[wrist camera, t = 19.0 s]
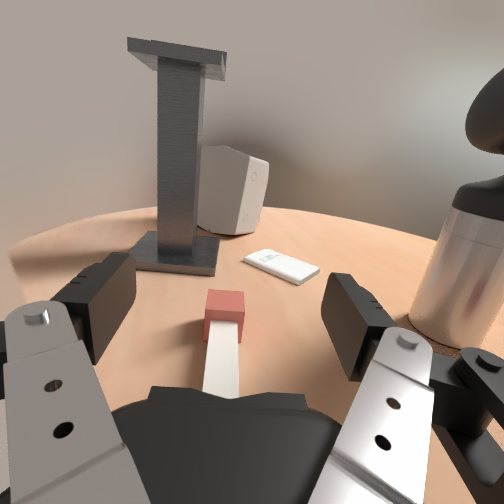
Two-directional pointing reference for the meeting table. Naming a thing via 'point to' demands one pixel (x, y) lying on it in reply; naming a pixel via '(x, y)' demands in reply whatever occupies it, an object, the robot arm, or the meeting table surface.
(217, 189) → the electrical switch box
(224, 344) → the white bar pink end
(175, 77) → the headphone stand
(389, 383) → the robot arm
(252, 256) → the external hard drive
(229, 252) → the meeting table surface
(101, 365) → the meeting table surface
